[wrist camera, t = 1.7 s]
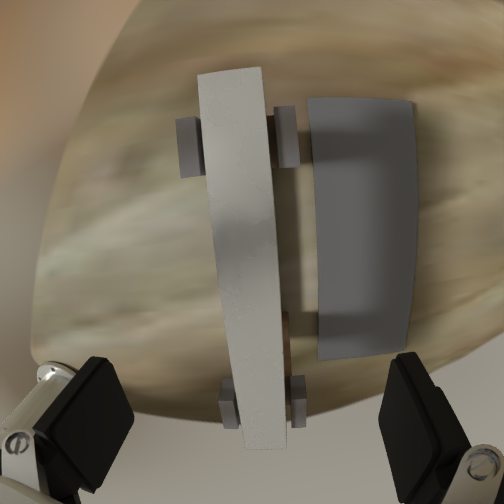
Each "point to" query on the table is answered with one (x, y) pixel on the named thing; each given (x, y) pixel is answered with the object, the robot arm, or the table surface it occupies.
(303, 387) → the rack
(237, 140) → the rail
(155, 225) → the table surface
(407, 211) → the mat
